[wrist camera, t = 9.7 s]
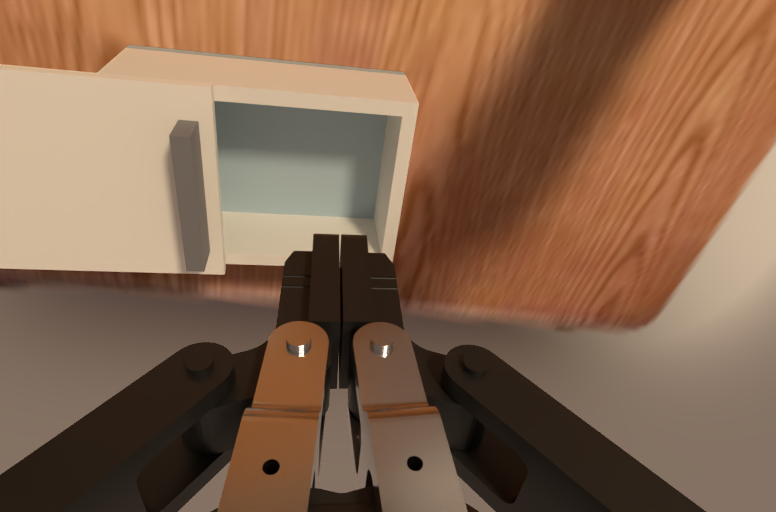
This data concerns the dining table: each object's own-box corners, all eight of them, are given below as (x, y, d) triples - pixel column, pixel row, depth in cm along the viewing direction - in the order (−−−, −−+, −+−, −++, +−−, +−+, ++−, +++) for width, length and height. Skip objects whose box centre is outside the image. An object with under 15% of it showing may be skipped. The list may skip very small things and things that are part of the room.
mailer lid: (212, 83, 31) (203, 101, 29) (226, 268, 40) (219, 295, 37) (-167, 49, 28) (-218, 66, 25) (-66, 259, 36) (-96, 289, 33)
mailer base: (404, 72, 39) (419, 103, 34) (382, 223, 47) (391, 269, 42) (129, 44, 36) (95, 74, 30) (155, 213, 44) (132, 260, 38)
